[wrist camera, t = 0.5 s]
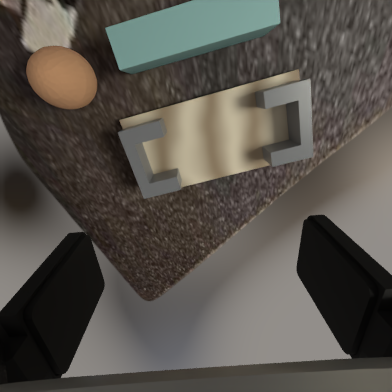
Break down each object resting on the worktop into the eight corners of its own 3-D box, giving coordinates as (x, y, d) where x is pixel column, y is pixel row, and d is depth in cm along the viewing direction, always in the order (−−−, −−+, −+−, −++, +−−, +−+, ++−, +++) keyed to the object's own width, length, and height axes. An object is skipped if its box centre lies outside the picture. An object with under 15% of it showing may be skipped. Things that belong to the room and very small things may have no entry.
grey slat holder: (295, 80, 30) (310, 78, 26) (299, 149, 34) (313, 156, 30) (126, 127, 32) (117, 132, 28) (148, 188, 36) (144, 198, 32)
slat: (259, -2, 27) (276, -26, 22) (263, 36, 29) (280, 23, 24) (121, 40, 29) (105, 27, 23) (132, 74, 30) (119, 70, 25)
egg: (95, 47, 29) (57, 29, 21) (112, 102, 32) (85, 105, 23) (47, 58, 29) (-10, 44, 21) (68, 111, 32) (25, 117, 24)
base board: (294, 70, 30) (298, 69, 29) (299, 154, 35) (303, 156, 34) (122, 119, 33) (119, 120, 31) (149, 191, 38) (148, 195, 36)
